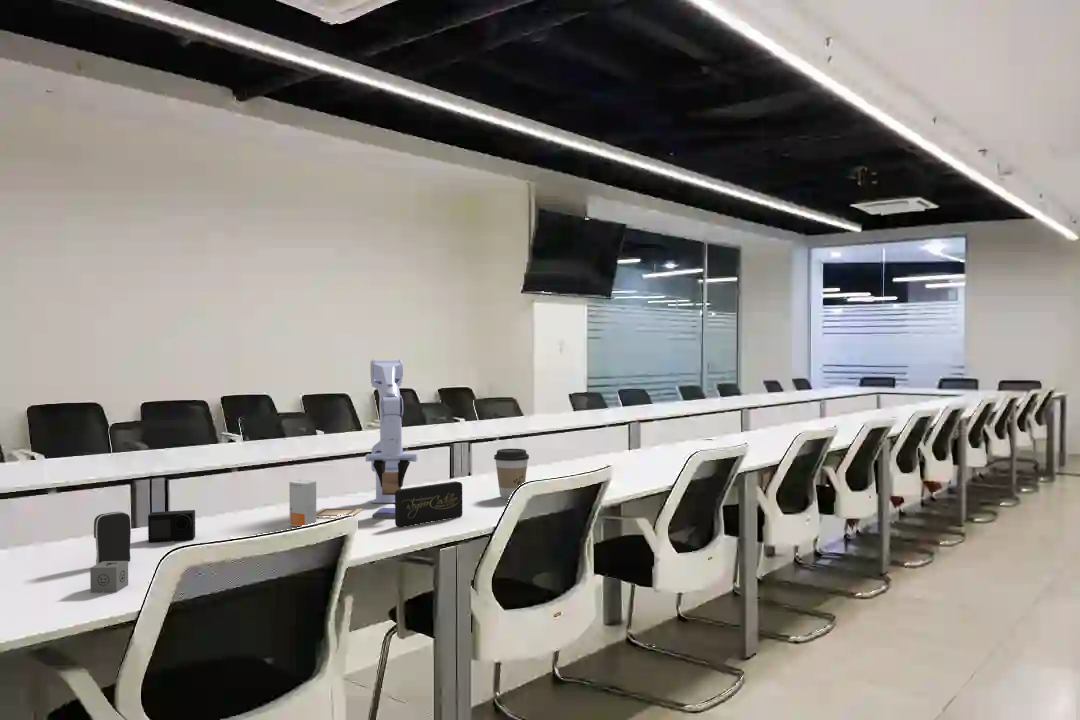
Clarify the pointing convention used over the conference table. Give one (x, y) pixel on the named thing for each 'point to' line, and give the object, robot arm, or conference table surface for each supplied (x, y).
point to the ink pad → (384, 513)
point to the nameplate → (428, 503)
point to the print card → (336, 511)
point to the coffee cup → (510, 469)
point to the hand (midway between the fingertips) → (391, 486)
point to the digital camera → (171, 526)
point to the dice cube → (109, 576)
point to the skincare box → (302, 502)
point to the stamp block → (390, 482)
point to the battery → (112, 537)
